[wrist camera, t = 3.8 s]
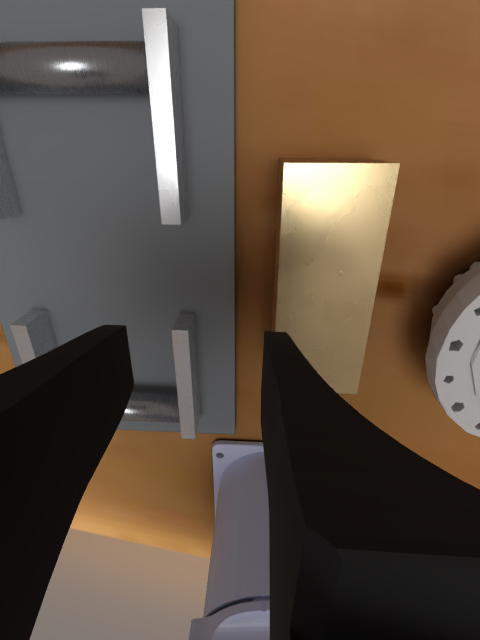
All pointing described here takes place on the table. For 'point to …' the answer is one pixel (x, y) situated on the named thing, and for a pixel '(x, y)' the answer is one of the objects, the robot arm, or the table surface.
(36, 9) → the join mat
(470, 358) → the mechanical component
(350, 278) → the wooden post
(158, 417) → the chain end
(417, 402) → the table surface
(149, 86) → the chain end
